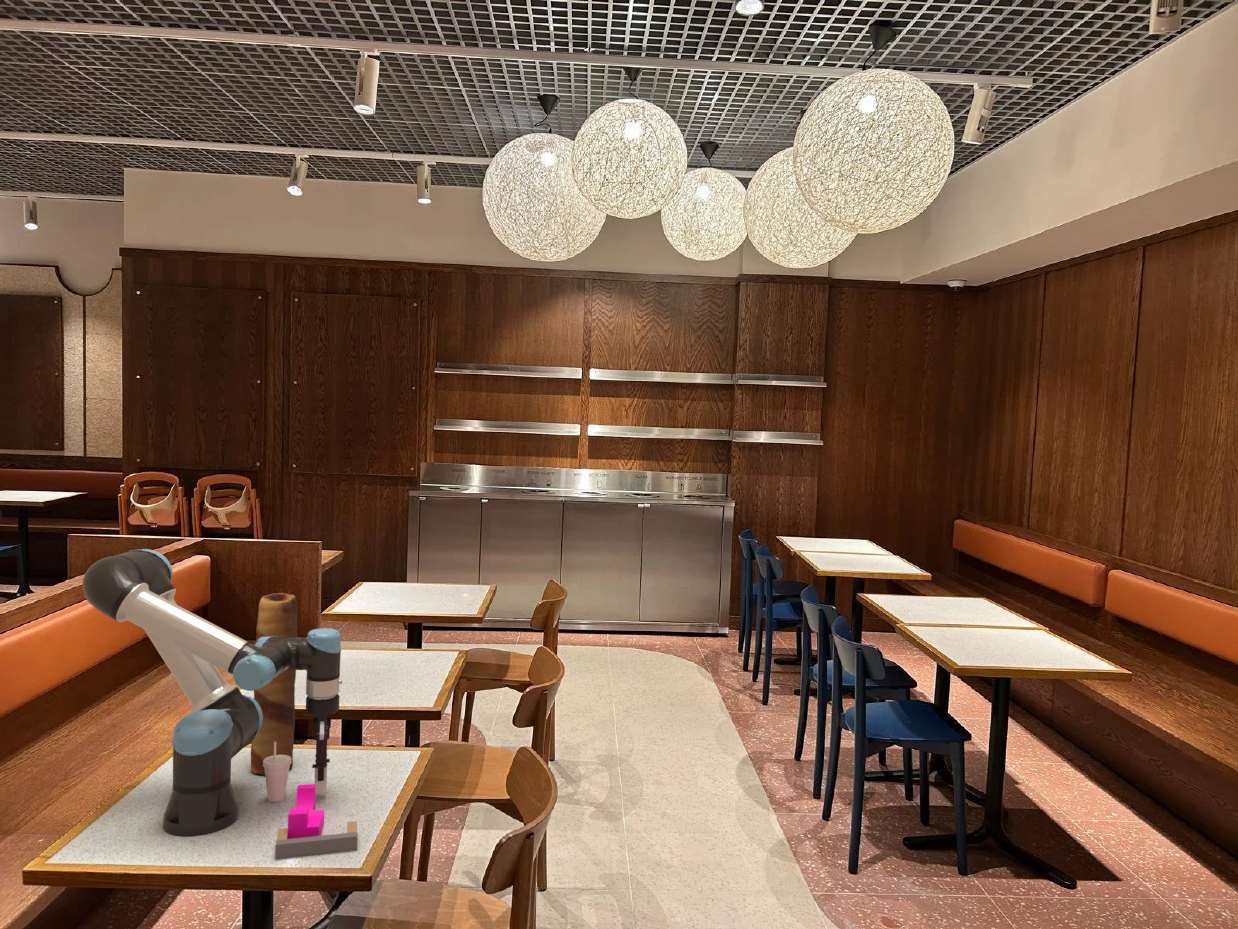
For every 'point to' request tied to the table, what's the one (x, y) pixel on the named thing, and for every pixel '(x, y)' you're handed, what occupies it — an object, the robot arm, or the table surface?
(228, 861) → the table surface
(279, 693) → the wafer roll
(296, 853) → the stop board
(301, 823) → the toy block
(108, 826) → the table surface
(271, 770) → the smoothie
